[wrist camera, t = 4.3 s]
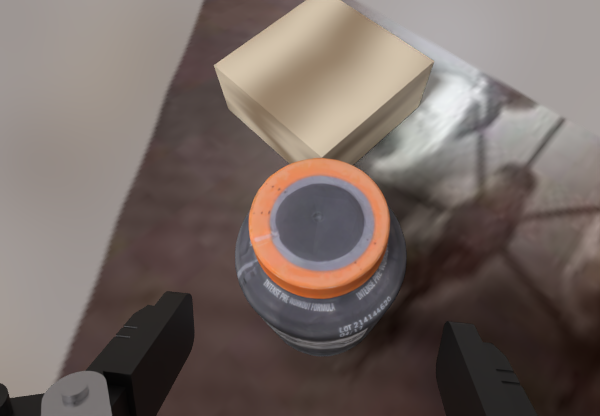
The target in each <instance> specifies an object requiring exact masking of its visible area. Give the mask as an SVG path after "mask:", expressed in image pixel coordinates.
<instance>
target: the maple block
mask: <svg viewBox="0 0 600 416" xmlns="http://www.w3.org/2000/svg"><path fill="white" fill-rule="evenodd" d="M433 63H434V61H433V60H432V59H430V58H428V57H427V56H425V55H424V54H422V53H421V52H419V51H418V50H416V49H415V48H413V47H411V46H410V45H408V44H407V43H405V42H404V41H402V40H401V39H399V38H398V37H396V36H395V35H393V34H391V33H390V32H388V31H387V30H385V29H384V28H382V27H381V26H379V25H378V24H376V23H374V22H373V21H371V20H370V19H368V18H367V17H365V16H364V15H362V14H361V13H359V12H358V11H356V10H354V9H353V8H351V7H350V6H348V5H347V4H345V3H344V2H342V1H341V0H306V1H305V2H303V3H302V4H300V5H299V6H298V7H296V8H295V9H293V10H292V11H290V12H289V13H288V14H286V15H285V16H283V17H282V18H280V19H279V20H278V21H276V22H275V23H273V24H272V25H271V26H269V27H268V28H266V29H265V30H263V31H262V32H261V33H259V34H258V35H256V36H255V37H254V38H252V39H251V40H249V41H248V42H246V43H245V44H244V45H242V46H241V47H239V48H238V49H236V50H235V51H234V52H232V53H231V54H229V55H228V56H227V57H225V58H224V59H222V60H221V61H219V62H218V63H217V64H215V65H214V67H215V70H216V73H217V76H218V79H219V82H220V85H221V88H222V91H223V93H224V96H225V99H226V102H227V105H228V108H229V110H230V111H231V112H233V113H234V114H235V115H236V116H237V117H238V118H239V119H240V120H241V121H243V122H244V123H245V124H246V125H247V126H248V127H249V128H250V129H252V130H253V131H254V132H255V133H256V134H257V135H258V136H259V137H260V138H262V139H263V140H264V141H265V142H266V143H267V144H268V145H269V146H270V147H272V148H273V149H274V150H275V151H276V152H277V153H278V154H279V155H280V156H282V157H283V158H284V159H285V160H286V161H287V162H288V163H289V164H291V163H294V162H297V161H301V160H305V159H312V158H327V159H335V160H340V161H343V162H346V163H348V164H350V165H354V164H355V163H356V162H357V161H358V160H359V159H360V158H361V157H363V156H364V155H365V154H366V153H367V152H368V151H369V150H370V149H372V148H373V147H374V146H375V145H376V144H377V143H378V142H379V141H381V140H382V139H383V138H384V137H385V136H386V135H387V134H388V133H390V132H391V131H392V130H393V129H394V128H395V127H396V126H397V125H399V124H400V123H401V122H402V121H403V120H404V119H405V118H406V117H408V116H409V115H410V114H411V113H412V112H413V111H414V110H415V109H417V108H418V107H419V104H420V101H421V98H422V95H423V92H424V89H425V86H426V84H427V81H428V78H429V75H430V72H431V69H432V66H433Z"/></svg>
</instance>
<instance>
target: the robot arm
mask: <svg viewBox="0 0 600 416" xmlns="http://www.w3.org/2000/svg"><path fill="white" fill-rule="evenodd" d="M193 342H194V319H193V303H192V296H191V294H189V293H179V292H170V291H167V292H165V293H164V294H163V296H162V297H161V298H160V299H159V301H158V302H157V303H156V304H155V306H151V305H147V306H146V307H144V308H143V309H141V310H139V311H138V312H136V313H135V314H133V315H132V317H131V318H130V319H129V320H128V321H127V322H126V324H125V325H124V327H123V328H121V329H120V331H119V332H118V333H117V334H116V337H114V338H113V339H112V340H111V341H110V342H109V344H108V345H107V346H106V347H105V348H104V349H103V351H102V352H101V353H100V354H99V355H98V356H97V358H96V359H95V360H94V361H93V362H92V364H91V365H90V366H89V367H88V368H87V369H86V371H82V372H77V373H73V374H70V375H68V376H66V377H63V378H62V379H60V380H58V381H57V382H56V383H54V384H53V385H52V386H51V387H50V388H49V389H48V390H47V391H46V393H43V394H37V395H30V396H22V397H15V398H10V397H9V394H8V390H7V388H6V387H5V386H4V385H3V384H1V383H0V416H156V415H157V413H158V411H159V409H160V408H161V406H162V404H163V402H164V400H165V398H166V396H167V395H168V393H169V391H170V389H171V387H172V385H173V384H174V382H175V380H176V378H177V376H178V374H179V372H180V371H181V369H182V367H183V365H184V363H185V361H186V360H187V358H188V356H189V354H190V352H191V349H192V346H193ZM436 378H437V384H438V387H439V391H440V395H441V398H442V402H443V405H444V409H445V412H446V416H538V415H537V413H536V412H535V410H534V408H533V406H532V404H531V402H530V400H529V399H528V397H527V395H526V393H525V391H524V389H523V387H522V386H520V382H519V380H518V378H517V376H516V374H514V373H513V369H512V367H511V365H510V363H509V361H508V360H507V358H506V356H505V355H504V354H503V353H502V352H501V351H499V350H498V349H497V348H496V347H495V346H494V345H493V344H492V343H485V342H482V340H481V338H480V336H479V334H478V332H477V330H476V328H475V326H474V325H473V324H468V323H459V322H449V321H447V322H446V323H445V325H444V329H443V334H442V338H441V343H440V348H439V353H438V357H437V363H436Z"/></svg>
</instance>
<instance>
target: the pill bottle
mask: <svg viewBox="0 0 600 416" xmlns="http://www.w3.org/2000/svg"><path fill="white" fill-rule="evenodd" d="M406 258H407V253H406V244H405V239H404V235H403V232H402V230H401V227H400V224H399V222H398V220H397V218H396V216H395V215H394V213H393V211H392V210H391V209H390V207H389V206H388V205H387V203H386V200H385V197H384V195H383V193H382V192H381V190H380V189H379V187H378V186H377V184H376V183H375V182H374V181H373V180H372V179H371V178H370V177H369V176H368V175H367V174H366V173H364V172H363V171H361V170H360V169H358V168H356V167H355V166H353V165H350V164H348V163H346V162H343V161H340V160H335V159H327V158H312V159H305V160H301V161H297V162H294V163H291V164H289V165H287V166H285V167H283V168H282V169H280V170H278V171H277V172H276V173H274V174H273V175H271V176H270V177H269V178H268V179H267V180H266V182H265V183H264V184H263V185H262V186H261V188H260V189H259V191H258V192H257V194H256V196H255V198H254V200H253V203H252V206H251V210H250V211H249V212H248V214H247V216H246V218H245V219H244V221H243V224H242V226H241V228H240V231H239V234H238V238H237V242H236V249H235V268H236V273H237V277H238V280H239V284H240V287H241V289H242V291H243V293H244V295H245V297H246V299H247V301H248V302H249V303H250V305H251V306H252V308H253V309H254V310H255V311H256V312H257V313H258V314H259V315H260V316H261V317H262V318H263V319H264V321H265V322H266V323H267V324H268V325H269V326H270V327H271V328H272V329H273V330H274V331H275V332H276V333H277V334H278V335H279V336H280V338H281V339H282V340H283V341H284V342H285V343H287V344H288V345H290V346H291V347H292V348H294V349H296V350H298V351H300V352H303V353H306V354H309V355H314V356H332V355H336V354H340V353H342V352H345V351H347V350H349V349H351V348H352V347H354V346H355V345H357V344H359V343H360V342H361V341H362V340H363V339H364V338H365V337H366V336H367V334H368V333H369V332H370V331H371V330H372V328H373V327H374V326H375V325H376V324H377V323H378V321H379V320H380V318H381V317H382V316H383V315H384V313H385V312H386V311H387V310H388V308H389V307H390V306H391V304H392V303H393V302H394V300H395V298H396V296H397V294H398V292H399V290H400V287H401V285H402V282H403V279H404V276H405V271H406Z"/></svg>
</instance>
